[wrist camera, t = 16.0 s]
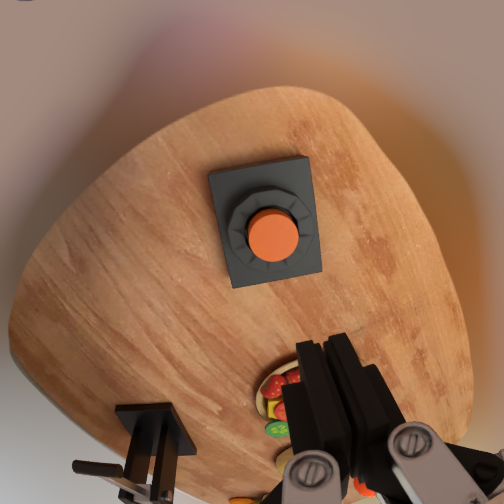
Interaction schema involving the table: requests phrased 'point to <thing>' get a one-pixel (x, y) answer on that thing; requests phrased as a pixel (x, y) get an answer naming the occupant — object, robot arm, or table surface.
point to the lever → (114, 478)
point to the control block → (260, 198)
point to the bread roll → (283, 460)
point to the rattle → (245, 501)
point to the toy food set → (278, 398)
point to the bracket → (153, 448)
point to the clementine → (363, 488)
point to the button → (272, 235)
